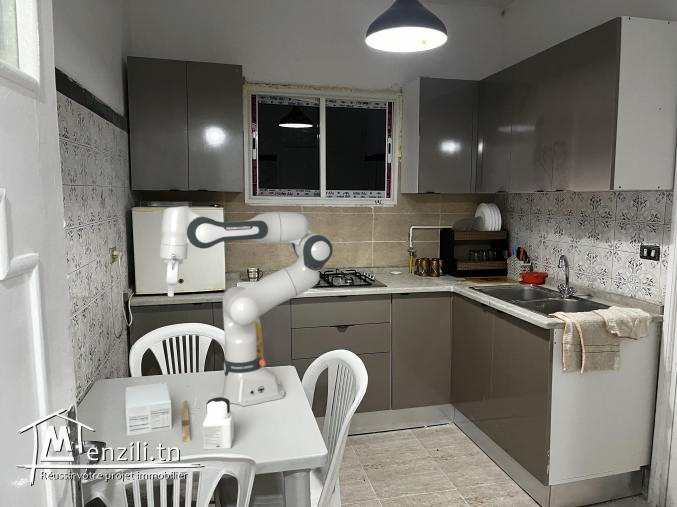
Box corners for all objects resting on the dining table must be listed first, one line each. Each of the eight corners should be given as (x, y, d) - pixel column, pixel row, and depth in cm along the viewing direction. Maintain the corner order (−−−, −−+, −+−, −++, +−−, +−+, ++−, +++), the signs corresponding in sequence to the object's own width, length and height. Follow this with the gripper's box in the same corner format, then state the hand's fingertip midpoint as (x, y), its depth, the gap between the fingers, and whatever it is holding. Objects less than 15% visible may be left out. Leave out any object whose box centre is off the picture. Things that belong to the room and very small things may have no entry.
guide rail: (187, 406, 171) (187, 400, 171) (190, 440, 147) (189, 433, 147) (180, 407, 171) (180, 401, 170) (182, 441, 146) (182, 435, 146)
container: (207, 437, 149) (206, 395, 148) (234, 436, 150) (233, 394, 148) (203, 450, 141) (201, 406, 140) (230, 449, 142) (229, 405, 141)
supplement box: (126, 414, 165) (125, 386, 164) (168, 408, 170) (167, 381, 169) (126, 436, 150) (124, 406, 149) (172, 429, 155) (171, 399, 154)
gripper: (184, 256, 159) (180, 299, 160) (182, 250, 178) (179, 288, 179) (163, 255, 157) (160, 299, 158) (163, 249, 176) (161, 288, 177)
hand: (170, 293), depth 169 cm, fingers open, 8 cm apart
